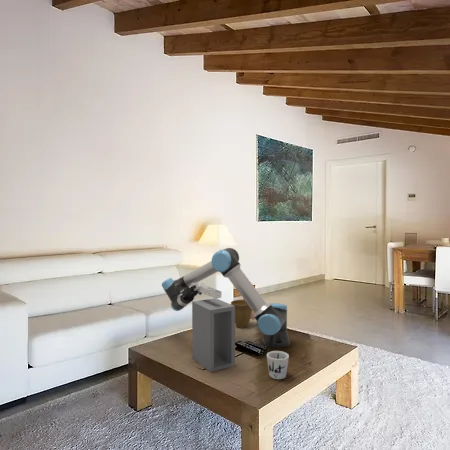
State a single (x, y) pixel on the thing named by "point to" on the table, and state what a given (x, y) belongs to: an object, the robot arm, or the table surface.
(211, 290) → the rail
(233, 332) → the shelf
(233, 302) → the plant pot
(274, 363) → the mug
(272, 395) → the table surface
